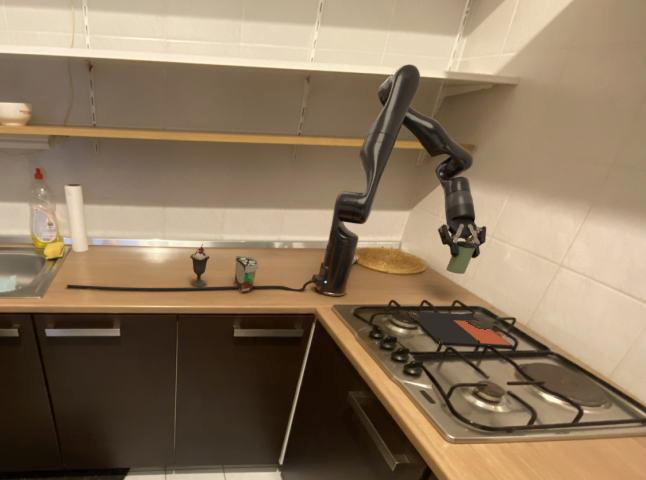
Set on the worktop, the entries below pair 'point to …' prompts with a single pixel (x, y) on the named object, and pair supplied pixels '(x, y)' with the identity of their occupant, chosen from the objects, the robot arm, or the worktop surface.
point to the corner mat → (459, 330)
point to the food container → (245, 273)
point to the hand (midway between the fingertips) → (465, 256)
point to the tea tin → (461, 257)
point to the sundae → (199, 265)
